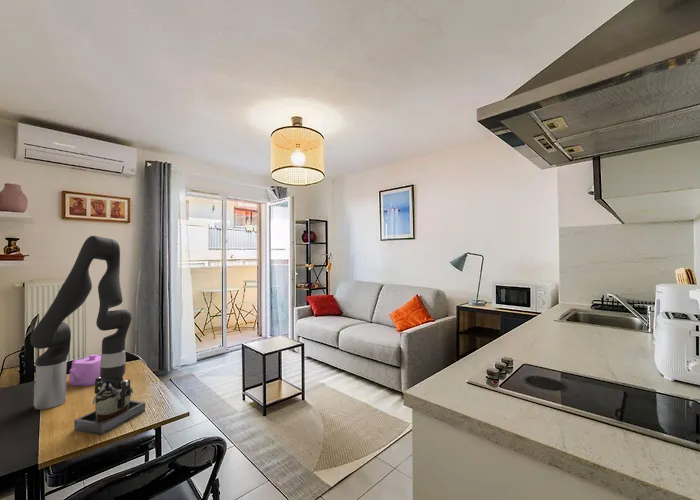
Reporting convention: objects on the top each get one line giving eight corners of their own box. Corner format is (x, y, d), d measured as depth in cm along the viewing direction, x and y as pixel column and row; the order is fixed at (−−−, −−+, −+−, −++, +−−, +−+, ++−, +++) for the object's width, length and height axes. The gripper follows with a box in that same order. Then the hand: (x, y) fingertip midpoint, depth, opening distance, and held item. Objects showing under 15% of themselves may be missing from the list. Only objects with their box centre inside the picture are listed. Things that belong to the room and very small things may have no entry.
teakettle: (111, 371, 164) (111, 347, 164) (115, 380, 152) (116, 355, 152) (67, 379, 152) (68, 354, 153) (68, 391, 140) (69, 363, 140)
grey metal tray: (74, 430, 109) (74, 420, 109) (120, 407, 126) (120, 398, 126) (101, 435, 106) (101, 425, 106) (145, 411, 123) (145, 402, 123)
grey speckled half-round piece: (125, 405, 124) (127, 381, 123) (131, 412, 120) (133, 387, 120) (86, 417, 114) (88, 392, 113) (91, 426, 110) (93, 399, 110)
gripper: (88, 364, 114) (86, 408, 114) (118, 368, 111) (117, 414, 111) (108, 358, 122) (107, 399, 121) (137, 361, 118) (136, 404, 118)
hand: (111, 406), depth 116 cm, fingers open, 8 cm apart
